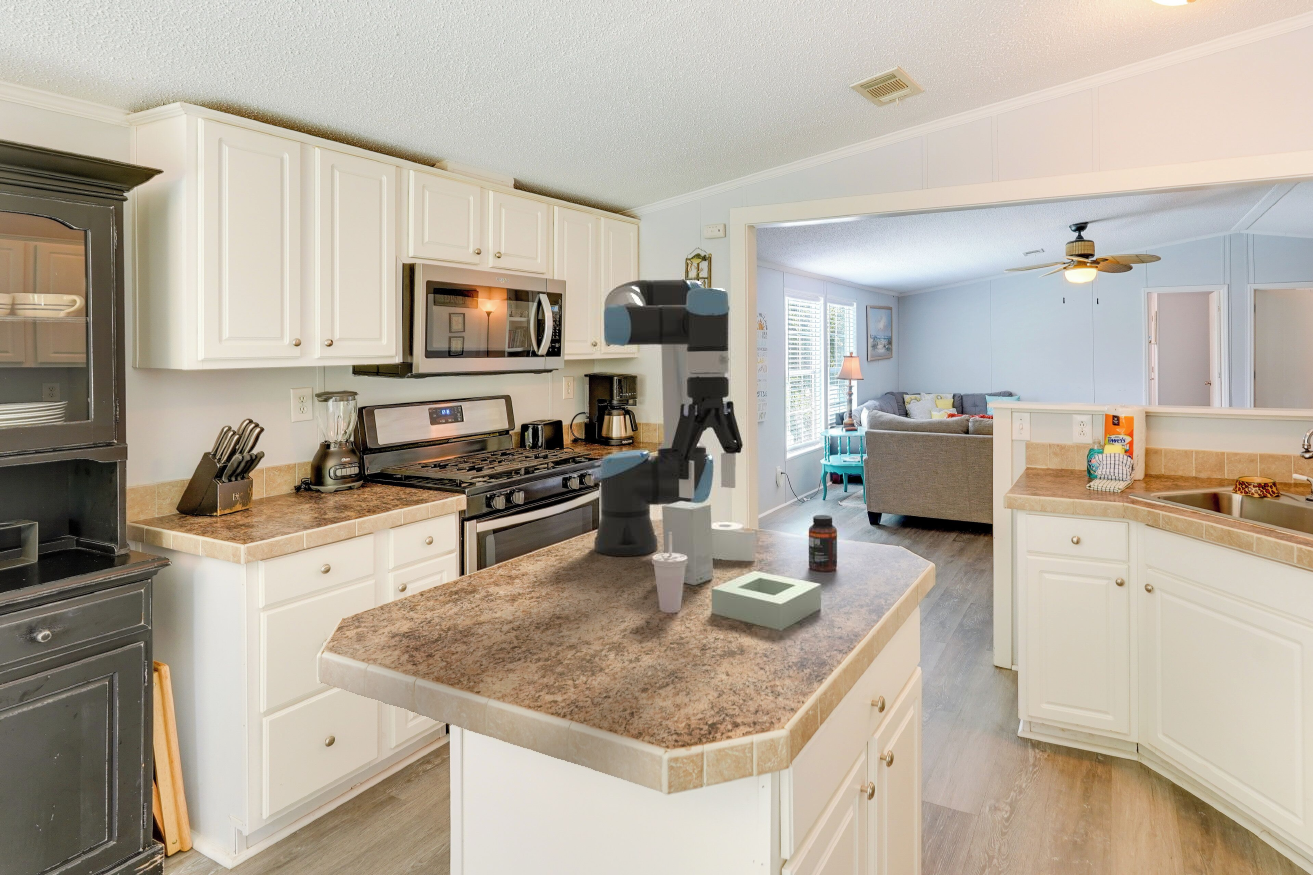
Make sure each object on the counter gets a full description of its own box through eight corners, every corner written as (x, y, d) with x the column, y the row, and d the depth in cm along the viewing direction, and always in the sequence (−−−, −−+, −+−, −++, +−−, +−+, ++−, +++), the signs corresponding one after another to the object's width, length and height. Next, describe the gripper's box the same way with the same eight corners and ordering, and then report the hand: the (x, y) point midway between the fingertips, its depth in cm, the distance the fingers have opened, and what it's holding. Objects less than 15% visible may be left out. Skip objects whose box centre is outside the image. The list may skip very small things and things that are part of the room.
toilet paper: (755, 561, 166) (755, 530, 165) (705, 559, 168) (705, 529, 167) (757, 552, 174) (757, 522, 173) (709, 550, 176) (709, 521, 175)
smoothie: (692, 605, 136) (691, 530, 134) (682, 617, 130) (681, 538, 128) (659, 602, 138) (658, 528, 136) (647, 613, 132) (646, 535, 130)
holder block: (711, 613, 132) (711, 588, 131) (754, 593, 142) (754, 570, 142) (780, 630, 123) (781, 603, 122) (820, 608, 133) (821, 584, 133)
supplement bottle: (834, 564, 162) (835, 513, 161) (838, 572, 156) (839, 519, 155) (807, 564, 163) (807, 513, 161) (809, 572, 157) (810, 519, 156)
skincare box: (713, 579, 152) (713, 504, 150) (693, 586, 147) (692, 509, 146) (683, 572, 158) (682, 499, 156) (661, 578, 153) (661, 504, 151)
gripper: (684, 376, 122) (685, 504, 124) (760, 374, 142) (760, 485, 143) (648, 376, 126) (650, 500, 128) (727, 374, 146) (727, 481, 148)
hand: (708, 492), depth 136 cm, fingers open, 13 cm apart
